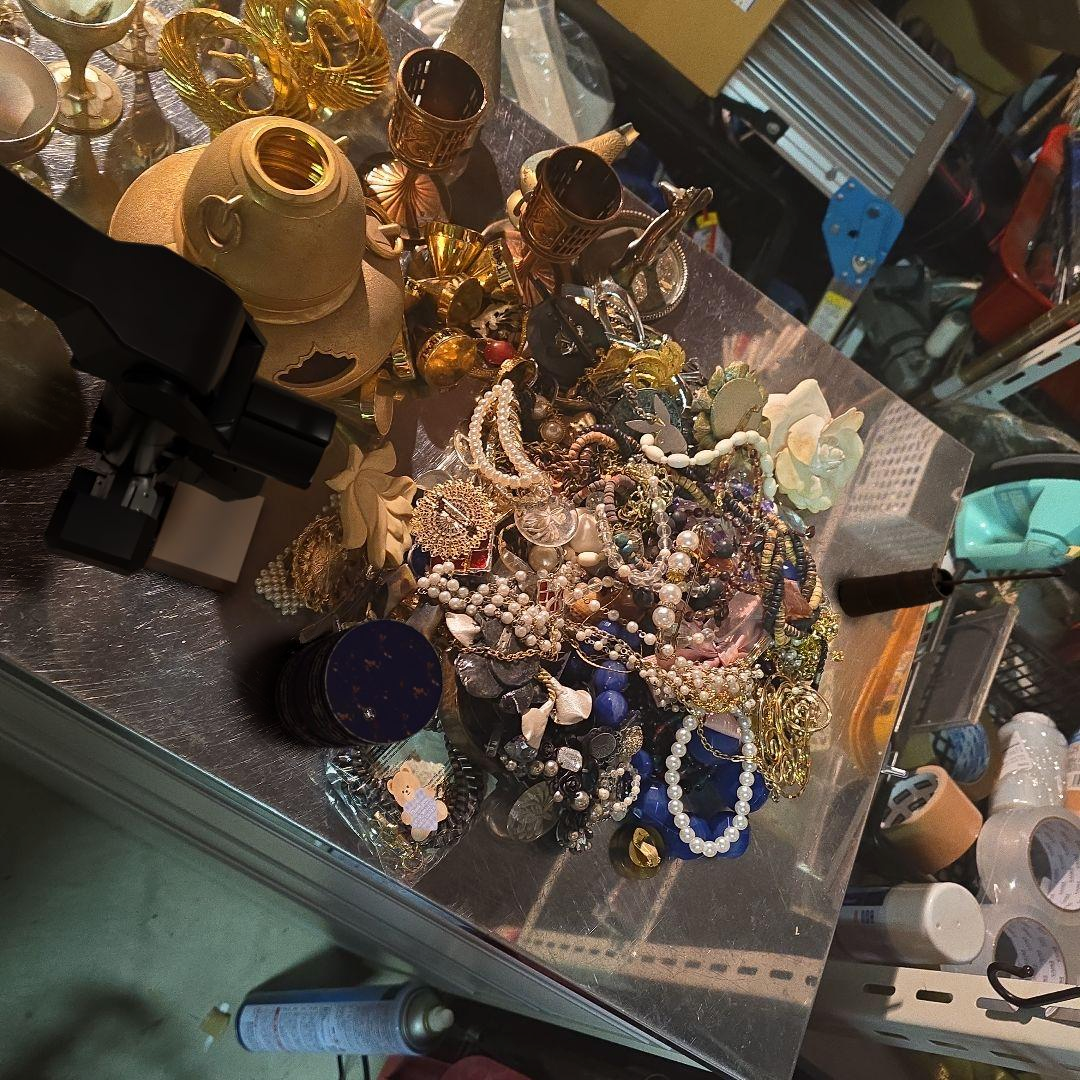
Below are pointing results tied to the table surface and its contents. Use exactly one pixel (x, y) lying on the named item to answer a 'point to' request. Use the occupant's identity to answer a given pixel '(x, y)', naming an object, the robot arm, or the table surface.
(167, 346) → the robot arm
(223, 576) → the tan square box
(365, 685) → the storage jar
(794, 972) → the table surface
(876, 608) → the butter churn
